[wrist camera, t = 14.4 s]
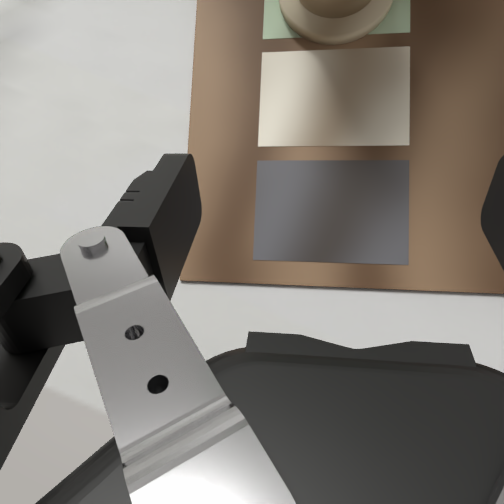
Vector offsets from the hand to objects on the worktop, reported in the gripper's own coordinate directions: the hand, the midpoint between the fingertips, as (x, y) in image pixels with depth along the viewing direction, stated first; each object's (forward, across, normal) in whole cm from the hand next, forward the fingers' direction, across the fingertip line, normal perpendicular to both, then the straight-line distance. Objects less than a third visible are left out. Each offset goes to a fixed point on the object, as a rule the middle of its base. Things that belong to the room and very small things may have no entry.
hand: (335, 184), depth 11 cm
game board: (+12, -3, -1) cm, 12 cm away
